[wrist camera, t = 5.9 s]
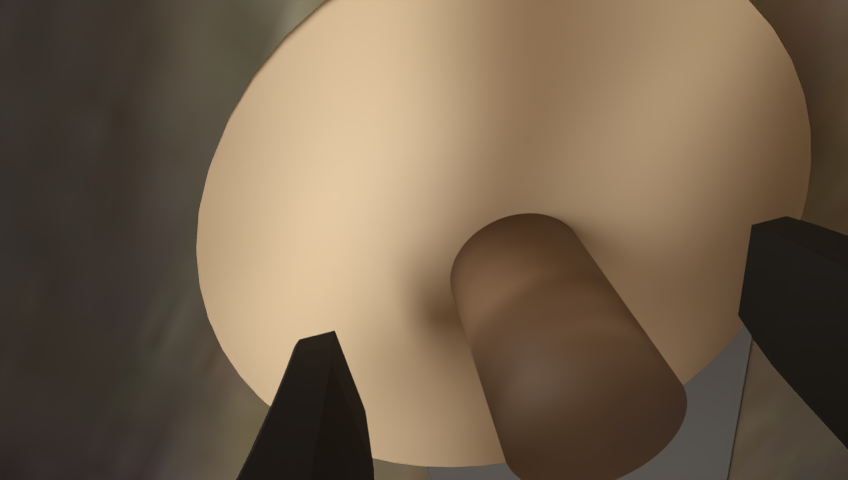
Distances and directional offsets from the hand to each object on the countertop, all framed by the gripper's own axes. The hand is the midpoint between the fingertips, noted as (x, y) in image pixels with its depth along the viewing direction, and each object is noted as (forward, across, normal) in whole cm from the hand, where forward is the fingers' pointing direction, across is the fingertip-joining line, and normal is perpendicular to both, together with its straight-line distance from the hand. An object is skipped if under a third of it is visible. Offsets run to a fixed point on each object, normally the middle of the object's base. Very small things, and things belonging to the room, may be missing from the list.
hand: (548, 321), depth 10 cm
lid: (+3, 0, 0) cm, 3 cm away
